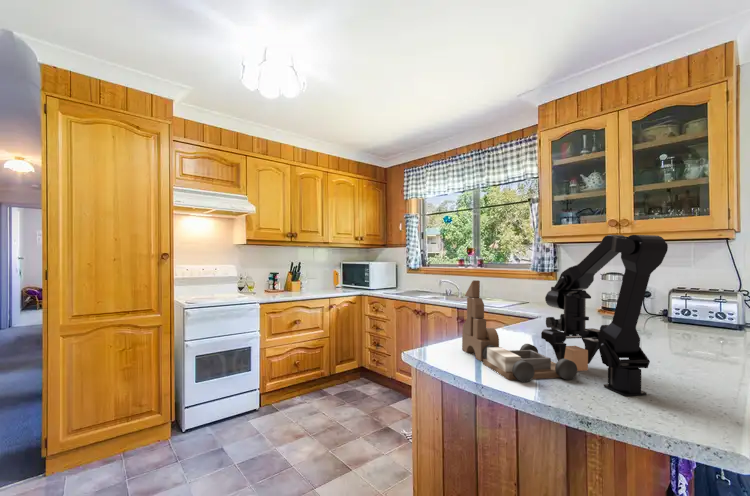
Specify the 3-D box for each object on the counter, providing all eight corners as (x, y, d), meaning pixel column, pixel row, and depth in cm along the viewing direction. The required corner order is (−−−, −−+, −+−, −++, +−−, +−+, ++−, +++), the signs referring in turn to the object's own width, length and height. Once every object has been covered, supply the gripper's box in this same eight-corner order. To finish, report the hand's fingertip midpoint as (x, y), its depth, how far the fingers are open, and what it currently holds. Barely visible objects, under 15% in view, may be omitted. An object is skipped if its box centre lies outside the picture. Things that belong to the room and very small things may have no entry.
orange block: (587, 370, 103) (587, 350, 103) (573, 371, 102) (573, 350, 102) (575, 365, 108) (575, 345, 108) (560, 365, 107) (561, 346, 107)
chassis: (580, 379, 95) (580, 359, 95) (513, 382, 91) (513, 361, 91) (536, 359, 113) (536, 342, 113) (479, 361, 109) (479, 344, 109)
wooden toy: (500, 361, 110) (501, 282, 111) (480, 361, 109) (481, 282, 110) (477, 348, 126) (478, 278, 126) (459, 348, 124) (460, 278, 125)
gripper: (581, 307, 115) (580, 355, 114) (530, 308, 111) (529, 357, 111) (609, 313, 104) (609, 366, 104) (554, 314, 100) (553, 368, 100)
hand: (574, 364), depth 105 cm, fingers open, 9 cm apart
